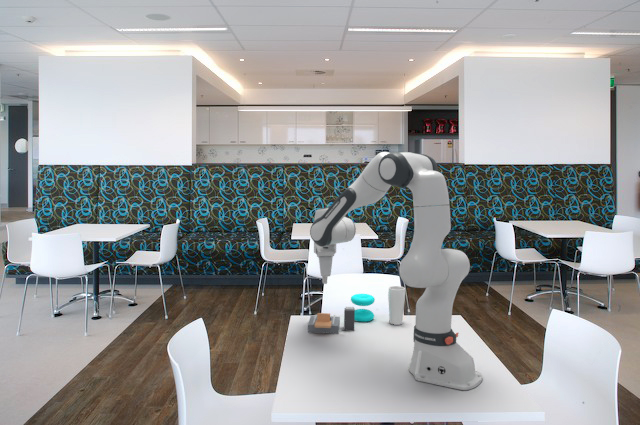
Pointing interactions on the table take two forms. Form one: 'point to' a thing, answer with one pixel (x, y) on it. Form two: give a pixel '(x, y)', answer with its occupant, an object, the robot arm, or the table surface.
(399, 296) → the drinking glass
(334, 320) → the socket plate
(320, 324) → the block
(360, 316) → the donuts
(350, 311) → the plug
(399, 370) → the table surface
